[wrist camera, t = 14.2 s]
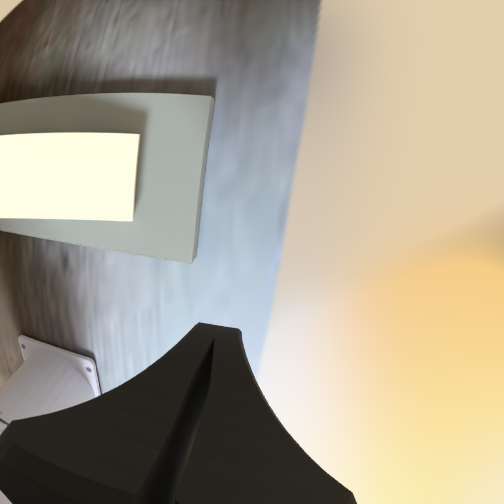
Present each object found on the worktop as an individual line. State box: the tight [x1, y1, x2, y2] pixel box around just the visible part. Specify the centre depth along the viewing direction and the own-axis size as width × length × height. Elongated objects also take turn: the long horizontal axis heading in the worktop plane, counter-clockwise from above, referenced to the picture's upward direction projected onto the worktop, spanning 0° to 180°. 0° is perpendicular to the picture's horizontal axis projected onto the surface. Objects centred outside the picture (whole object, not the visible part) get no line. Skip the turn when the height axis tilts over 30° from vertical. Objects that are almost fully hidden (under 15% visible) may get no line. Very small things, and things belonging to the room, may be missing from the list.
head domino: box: [0, 133, 141, 221], centre depth 14 cm, size 4×2×8 cm
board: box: [0, 93, 215, 264], centre depth 17 cm, size 9×22×1 cm, turn 82°
